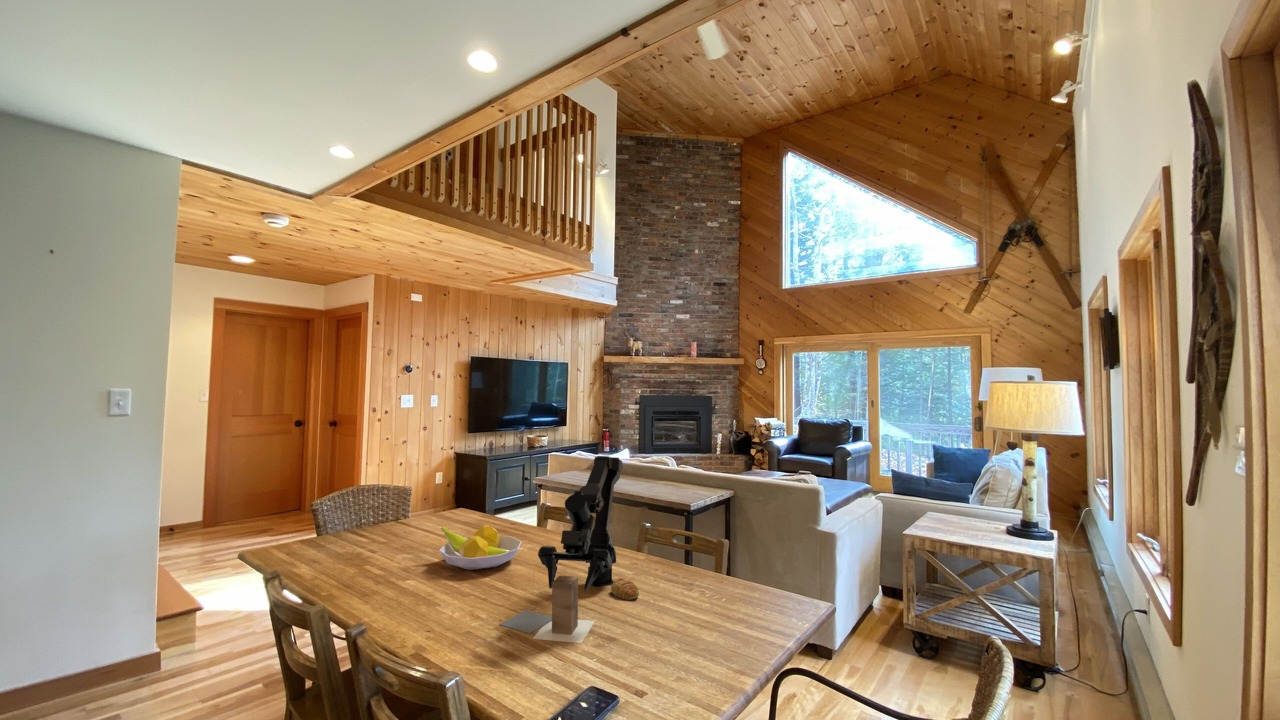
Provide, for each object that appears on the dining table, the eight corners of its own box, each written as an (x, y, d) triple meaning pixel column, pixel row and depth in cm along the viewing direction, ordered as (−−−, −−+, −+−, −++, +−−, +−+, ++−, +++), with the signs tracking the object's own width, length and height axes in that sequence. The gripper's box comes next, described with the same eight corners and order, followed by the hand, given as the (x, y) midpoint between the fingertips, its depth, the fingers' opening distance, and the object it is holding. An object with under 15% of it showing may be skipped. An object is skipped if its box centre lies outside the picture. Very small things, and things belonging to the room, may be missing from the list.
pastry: (645, 598, 155) (645, 584, 155) (624, 603, 151) (624, 590, 151) (627, 588, 163) (627, 575, 163) (608, 593, 159) (608, 579, 159)
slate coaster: (526, 612, 145) (526, 609, 145) (555, 620, 140) (555, 617, 140) (499, 626, 136) (499, 624, 136) (529, 635, 131) (529, 633, 131)
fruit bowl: (537, 558, 189) (537, 526, 190) (475, 582, 167) (476, 545, 167) (481, 546, 204) (482, 515, 205) (418, 566, 182) (419, 532, 182)
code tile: (550, 618, 141) (550, 617, 141) (595, 622, 139) (595, 620, 139) (532, 640, 129) (532, 638, 129) (581, 644, 127) (581, 642, 127)
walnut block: (558, 624, 137) (559, 575, 137) (577, 625, 136) (578, 576, 136) (551, 633, 132) (552, 582, 132) (571, 634, 131) (571, 584, 131)
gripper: (540, 515, 144) (523, 570, 132) (609, 518, 141) (597, 575, 129) (550, 537, 151) (535, 592, 140) (616, 541, 148) (605, 597, 136)
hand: (567, 589), depth 136 cm, fingers open, 9 cm apart
